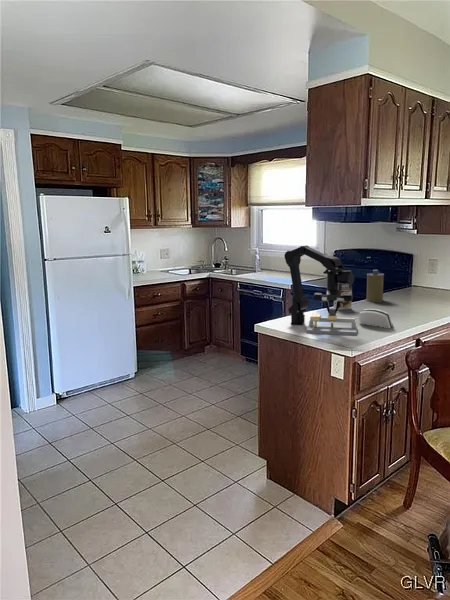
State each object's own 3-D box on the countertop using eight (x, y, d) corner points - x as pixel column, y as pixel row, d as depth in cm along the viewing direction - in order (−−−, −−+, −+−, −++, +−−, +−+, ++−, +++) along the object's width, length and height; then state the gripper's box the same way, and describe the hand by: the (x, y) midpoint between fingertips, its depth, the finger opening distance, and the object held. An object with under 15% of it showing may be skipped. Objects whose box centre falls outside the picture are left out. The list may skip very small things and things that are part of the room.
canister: (383, 302, 288) (384, 271, 284) (366, 302, 290) (367, 271, 286) (382, 298, 298) (383, 268, 294) (365, 298, 301) (366, 268, 297)
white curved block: (393, 326, 231) (391, 309, 227) (390, 331, 228) (387, 314, 224) (363, 321, 243) (360, 305, 238) (359, 326, 240) (356, 310, 235)
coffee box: (337, 310, 271) (338, 283, 268) (333, 308, 277) (333, 282, 274) (351, 309, 273) (352, 282, 269) (347, 306, 279) (347, 281, 276)
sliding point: (327, 327, 225) (327, 309, 224) (328, 324, 231) (328, 307, 230) (335, 328, 224) (336, 310, 222) (336, 324, 230) (337, 307, 228)
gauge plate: (306, 332, 225) (306, 318, 224) (309, 326, 236) (309, 312, 235) (356, 335, 218) (356, 320, 216) (356, 328, 229) (357, 314, 228)
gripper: (311, 285, 219) (311, 316, 222) (351, 286, 213) (351, 318, 216) (314, 281, 229) (314, 311, 232) (352, 282, 223) (352, 313, 227)
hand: (332, 313), depth 227 cm, fingers closed on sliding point, 3 cm apart
